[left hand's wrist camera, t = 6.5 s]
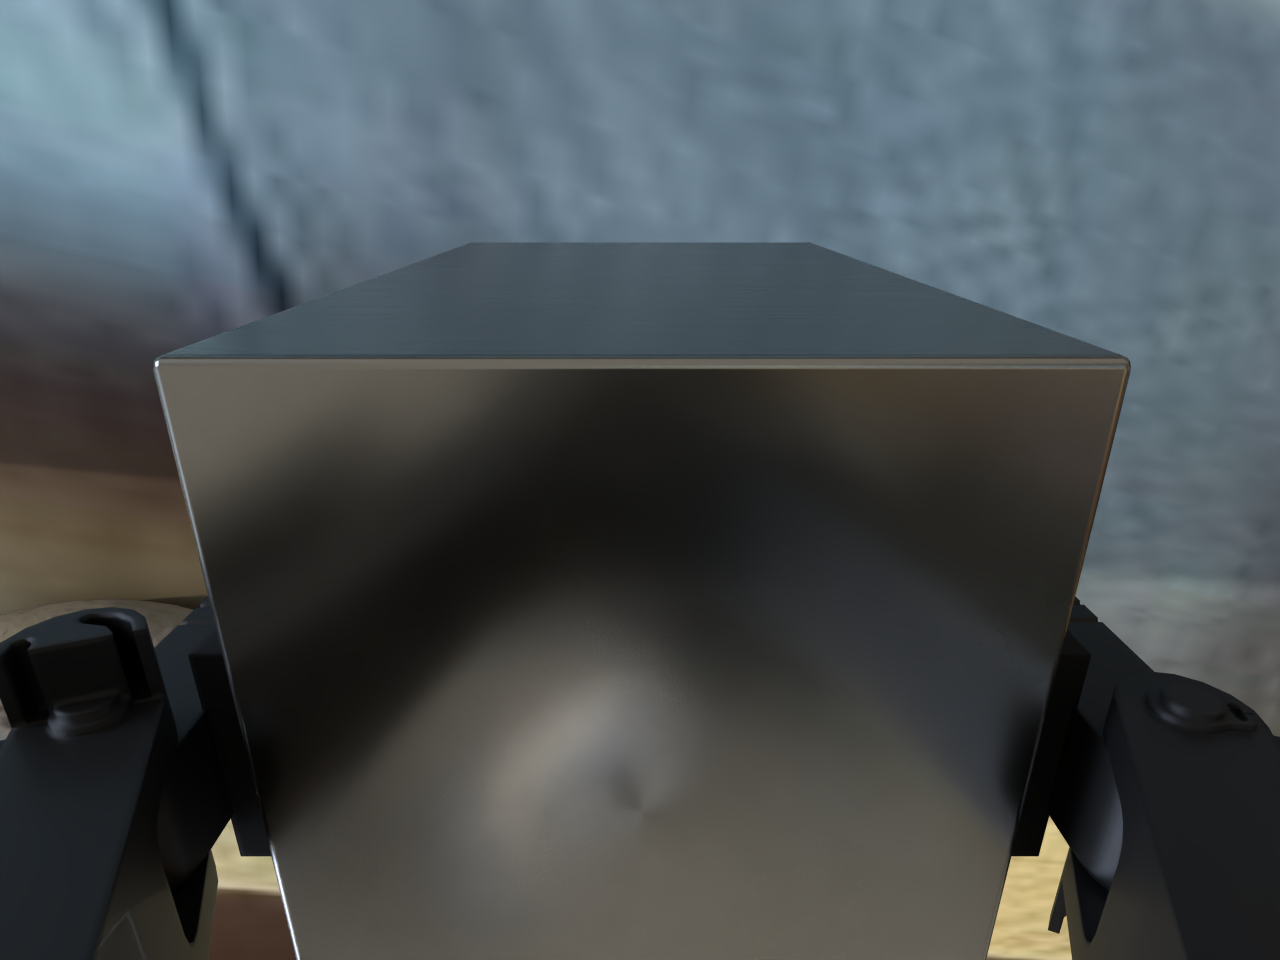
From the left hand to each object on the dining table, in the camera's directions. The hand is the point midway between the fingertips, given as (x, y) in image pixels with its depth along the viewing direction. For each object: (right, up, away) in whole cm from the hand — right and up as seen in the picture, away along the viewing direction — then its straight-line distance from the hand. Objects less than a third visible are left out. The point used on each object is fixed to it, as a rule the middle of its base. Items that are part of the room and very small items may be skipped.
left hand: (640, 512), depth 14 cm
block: (0, +2, +4) cm, 4 cm away
